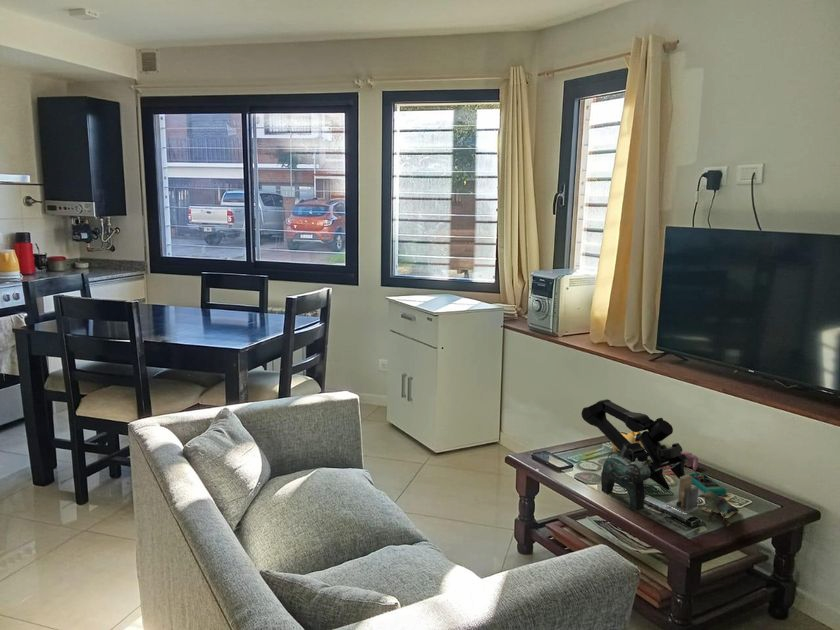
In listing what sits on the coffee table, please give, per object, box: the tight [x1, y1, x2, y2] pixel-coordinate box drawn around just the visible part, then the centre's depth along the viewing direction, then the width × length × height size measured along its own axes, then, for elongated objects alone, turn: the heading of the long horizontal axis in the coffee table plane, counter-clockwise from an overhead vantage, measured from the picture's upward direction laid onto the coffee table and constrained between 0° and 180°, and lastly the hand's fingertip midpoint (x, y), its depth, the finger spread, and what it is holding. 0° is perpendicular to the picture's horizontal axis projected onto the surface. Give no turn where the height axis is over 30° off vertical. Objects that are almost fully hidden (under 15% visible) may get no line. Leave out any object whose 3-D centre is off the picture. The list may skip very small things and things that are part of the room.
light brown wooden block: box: [676, 474, 692, 506], centre depth 222 cm, size 2×6×10 cm, turn 122°
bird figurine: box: [697, 491, 740, 527], centre depth 214 cm, size 13×10×20 cm
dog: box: [610, 430, 645, 453], centre depth 267 cm, size 8×20×13 cm, turn 28°
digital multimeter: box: [688, 472, 727, 496], centre depth 240 cm, size 7×15×3 cm, turn 8°
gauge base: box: [666, 486, 700, 514], centre depth 223 cm, size 7×7×8 cm
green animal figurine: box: [600, 449, 651, 512], centre depth 227 cm, size 20×6×20 cm, turn 26°
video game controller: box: [681, 450, 699, 472], centre depth 258 cm, size 10×5×7 cm, turn 58°
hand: (677, 486), depth 225 cm, fingers open, 9 cm apart
